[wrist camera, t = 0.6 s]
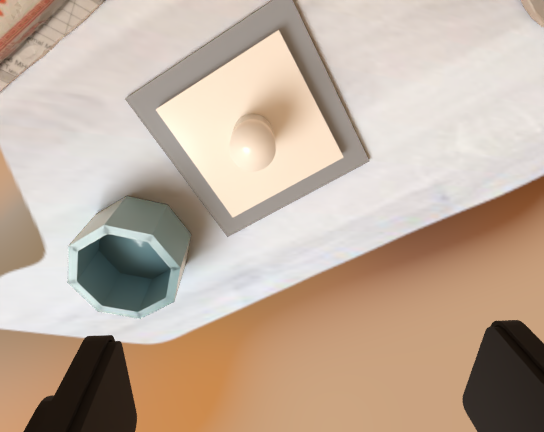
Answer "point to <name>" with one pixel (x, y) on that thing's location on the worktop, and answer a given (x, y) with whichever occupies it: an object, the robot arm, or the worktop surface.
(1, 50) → the packaged product
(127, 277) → the bowl
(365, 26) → the worktop surface
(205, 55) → the mat
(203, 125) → the lid
